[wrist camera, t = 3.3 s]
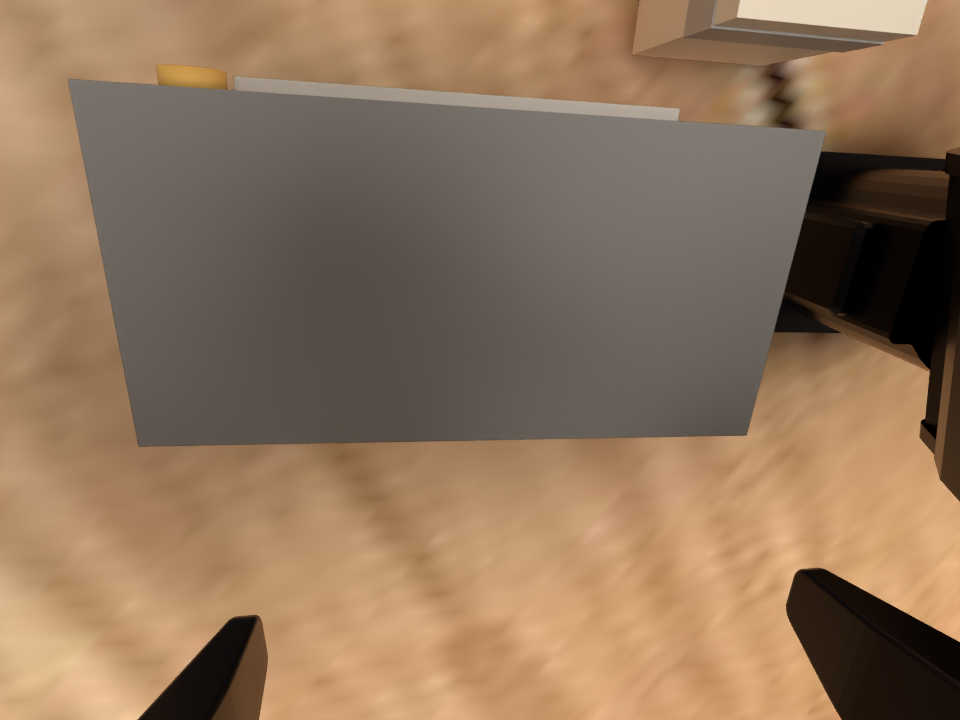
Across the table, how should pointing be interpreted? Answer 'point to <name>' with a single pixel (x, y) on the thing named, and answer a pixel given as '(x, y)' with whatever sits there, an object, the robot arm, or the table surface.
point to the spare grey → (769, 28)
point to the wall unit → (433, 261)
